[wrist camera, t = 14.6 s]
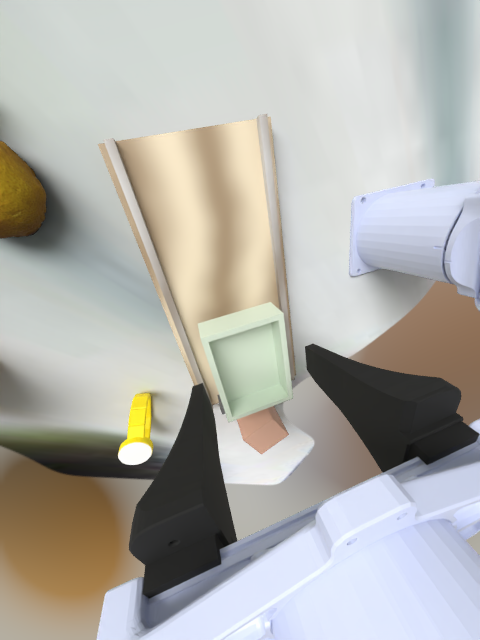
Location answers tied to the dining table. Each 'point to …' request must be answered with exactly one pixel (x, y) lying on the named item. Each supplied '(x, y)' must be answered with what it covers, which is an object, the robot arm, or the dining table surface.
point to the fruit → (19, 196)
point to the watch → (138, 432)
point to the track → (205, 226)
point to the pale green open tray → (248, 359)
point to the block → (262, 429)
